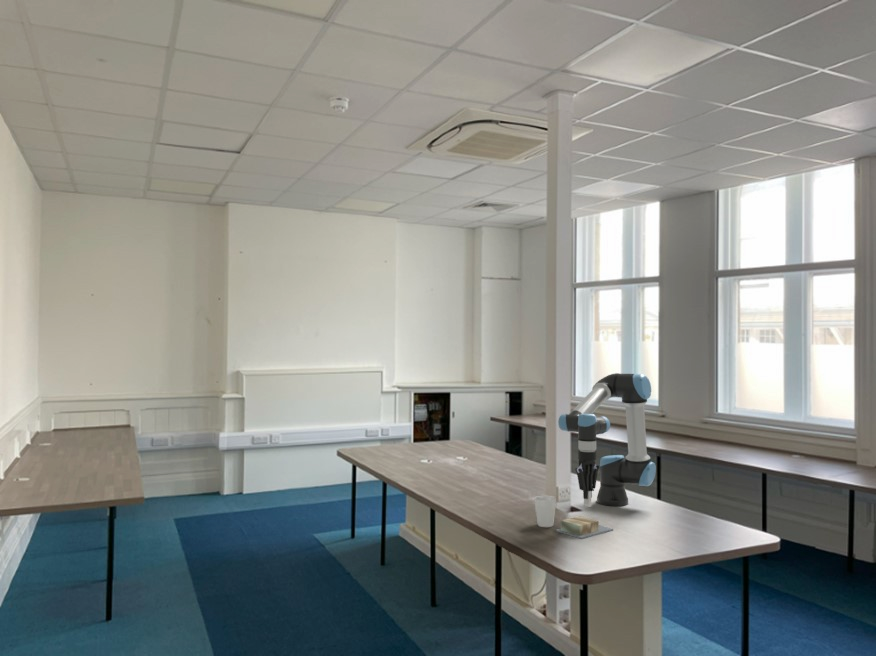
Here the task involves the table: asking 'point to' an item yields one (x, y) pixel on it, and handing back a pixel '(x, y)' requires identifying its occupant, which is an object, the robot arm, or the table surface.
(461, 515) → the table surface
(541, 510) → the white tapered cylinder
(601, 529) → the mat
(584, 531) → the slab
